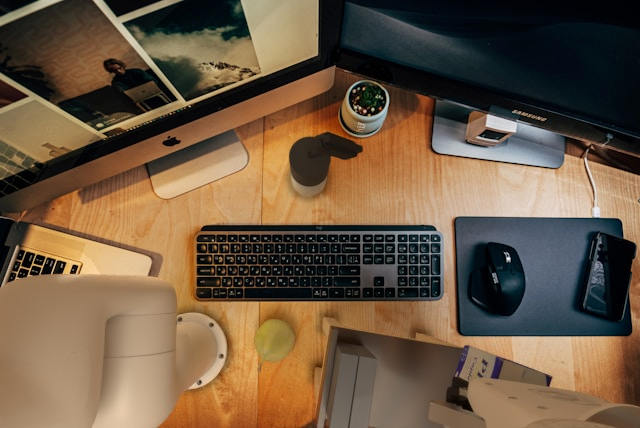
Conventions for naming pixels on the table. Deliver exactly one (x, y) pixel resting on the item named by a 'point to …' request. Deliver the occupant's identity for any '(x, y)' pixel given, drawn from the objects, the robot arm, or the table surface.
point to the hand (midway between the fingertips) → (488, 400)
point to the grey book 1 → (342, 386)
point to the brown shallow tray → (396, 377)
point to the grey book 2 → (363, 388)
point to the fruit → (274, 341)
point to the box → (496, 368)
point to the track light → (317, 160)
